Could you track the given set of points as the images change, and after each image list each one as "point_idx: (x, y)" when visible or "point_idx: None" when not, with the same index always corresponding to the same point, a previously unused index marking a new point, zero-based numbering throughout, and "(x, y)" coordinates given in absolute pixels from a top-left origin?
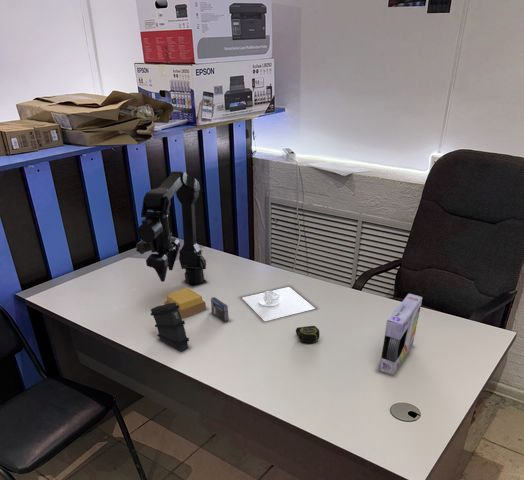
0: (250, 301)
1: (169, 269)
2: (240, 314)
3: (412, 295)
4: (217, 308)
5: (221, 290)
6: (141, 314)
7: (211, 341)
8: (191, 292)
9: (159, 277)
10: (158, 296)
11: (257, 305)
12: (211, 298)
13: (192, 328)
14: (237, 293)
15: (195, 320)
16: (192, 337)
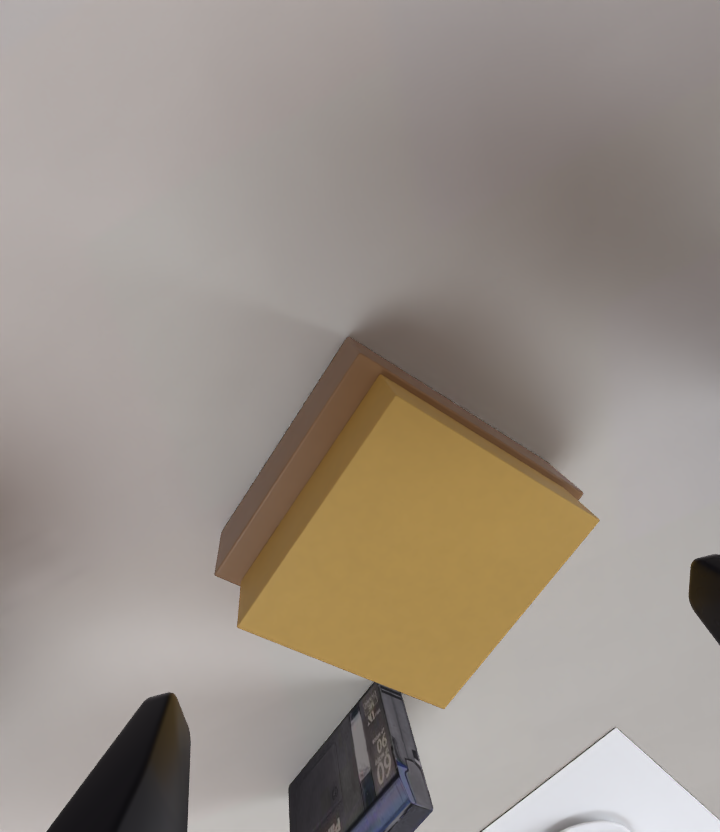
0: (574, 783)
1: (706, 574)
2: None
3: None
4: (341, 805)
5: None
6: (173, 152)
7: (37, 828)
8: (498, 602)
9: (70, 808)
10: (574, 138)
11: (532, 828)
12: (407, 800)
13: (135, 669)
14: (671, 684)
15: (250, 634)
16: (20, 724)
